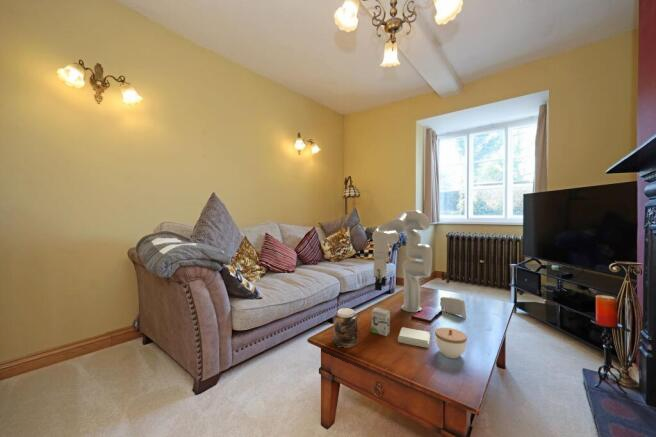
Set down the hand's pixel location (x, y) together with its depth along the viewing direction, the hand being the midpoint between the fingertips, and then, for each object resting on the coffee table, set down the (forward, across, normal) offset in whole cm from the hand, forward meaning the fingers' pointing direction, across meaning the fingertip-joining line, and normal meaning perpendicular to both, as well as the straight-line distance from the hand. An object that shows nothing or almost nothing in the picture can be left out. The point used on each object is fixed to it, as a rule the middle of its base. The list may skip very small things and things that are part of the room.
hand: (380, 287), depth 136 cm
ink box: (+24, 0, 0) cm, 24 cm away
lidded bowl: (+24, +8, +33) cm, 41 cm away
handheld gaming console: (+23, -43, +35) cm, 61 cm away
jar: (+24, +17, -13) cm, 32 cm away
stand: (+24, +1, +17) cm, 29 cm away
